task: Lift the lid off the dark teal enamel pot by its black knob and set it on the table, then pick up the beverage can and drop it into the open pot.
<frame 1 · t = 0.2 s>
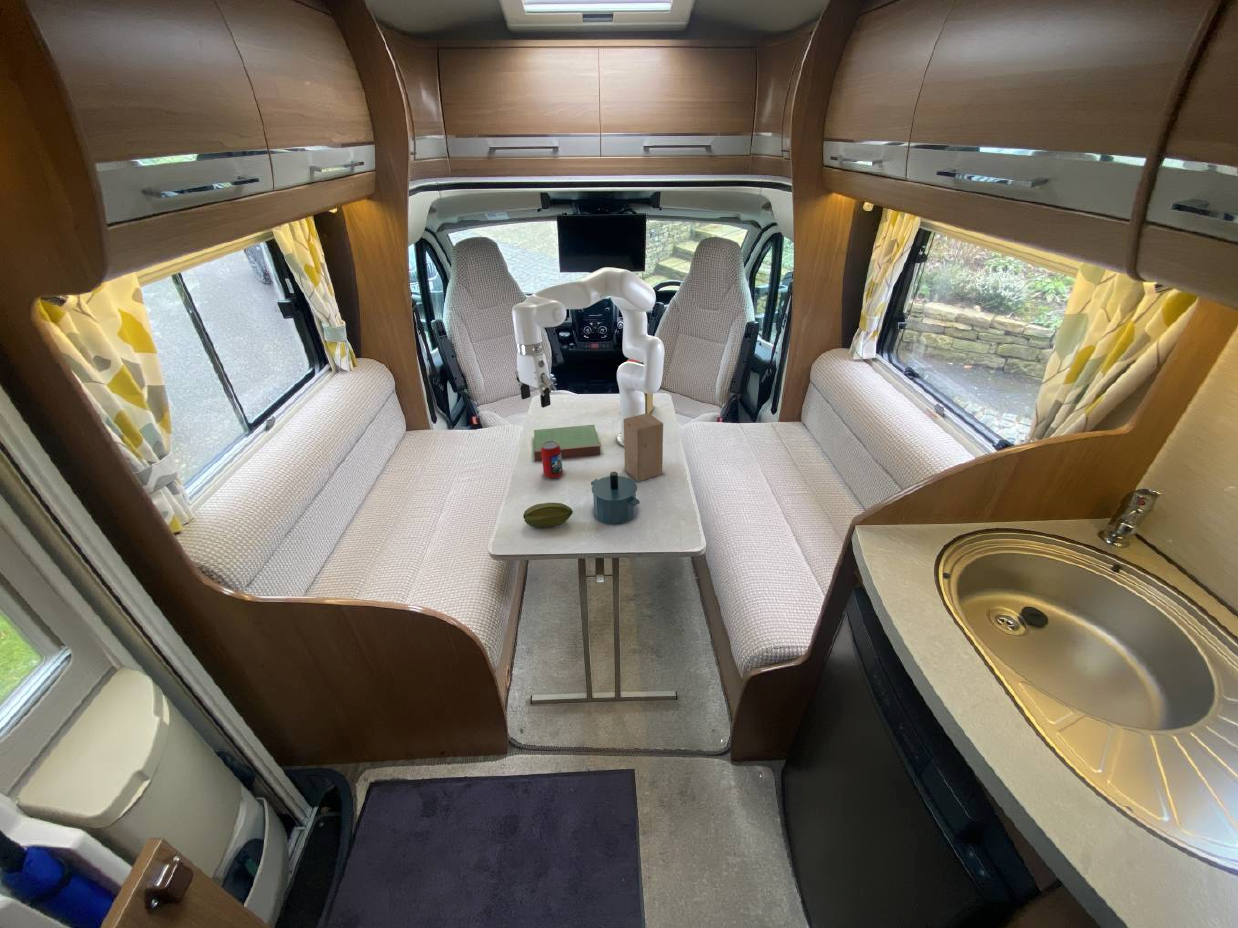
hand: (535, 402, 154), 31 cm above the table, tool pointing down, fingers open, 9 cm apart
wooden block: (643, 472, 176), on the table
pot: (615, 511, 156), on the table
pot lid: (614, 488, 151), point 8 cm above the table, touching pot
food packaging: (640, 412, 221), on the table
fruit: (548, 524, 151), on the table
book: (567, 446, 194), on the table
beverage can: (553, 474, 176), on the table
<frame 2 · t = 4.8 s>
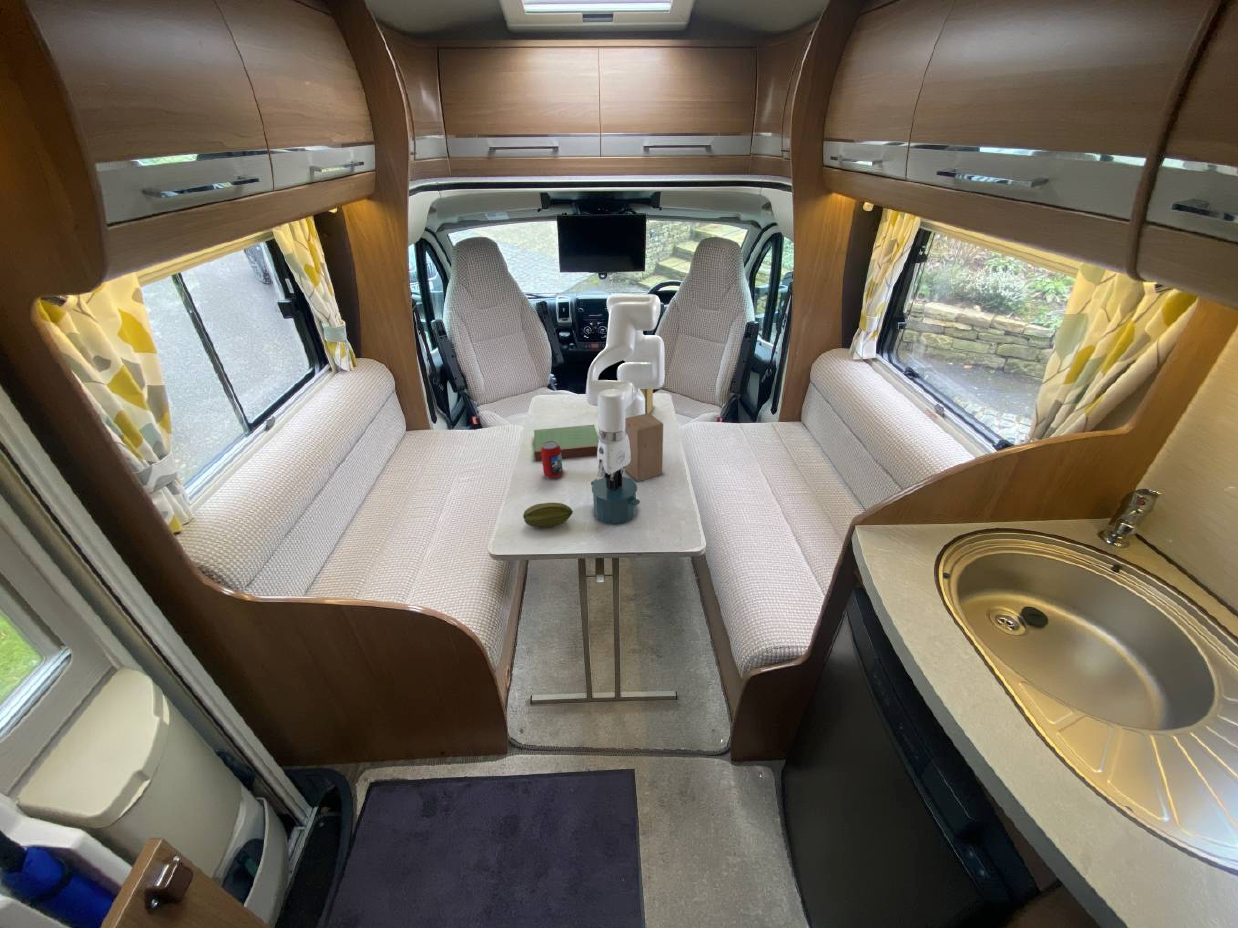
hand: (614, 486, 151), 9 cm above the table, tool pointing down, fingers closed on pot lid, 2 cm apart
pot lid: (614, 488, 151), point 9 cm above the table, touching gripper, pot
everything else where it was.
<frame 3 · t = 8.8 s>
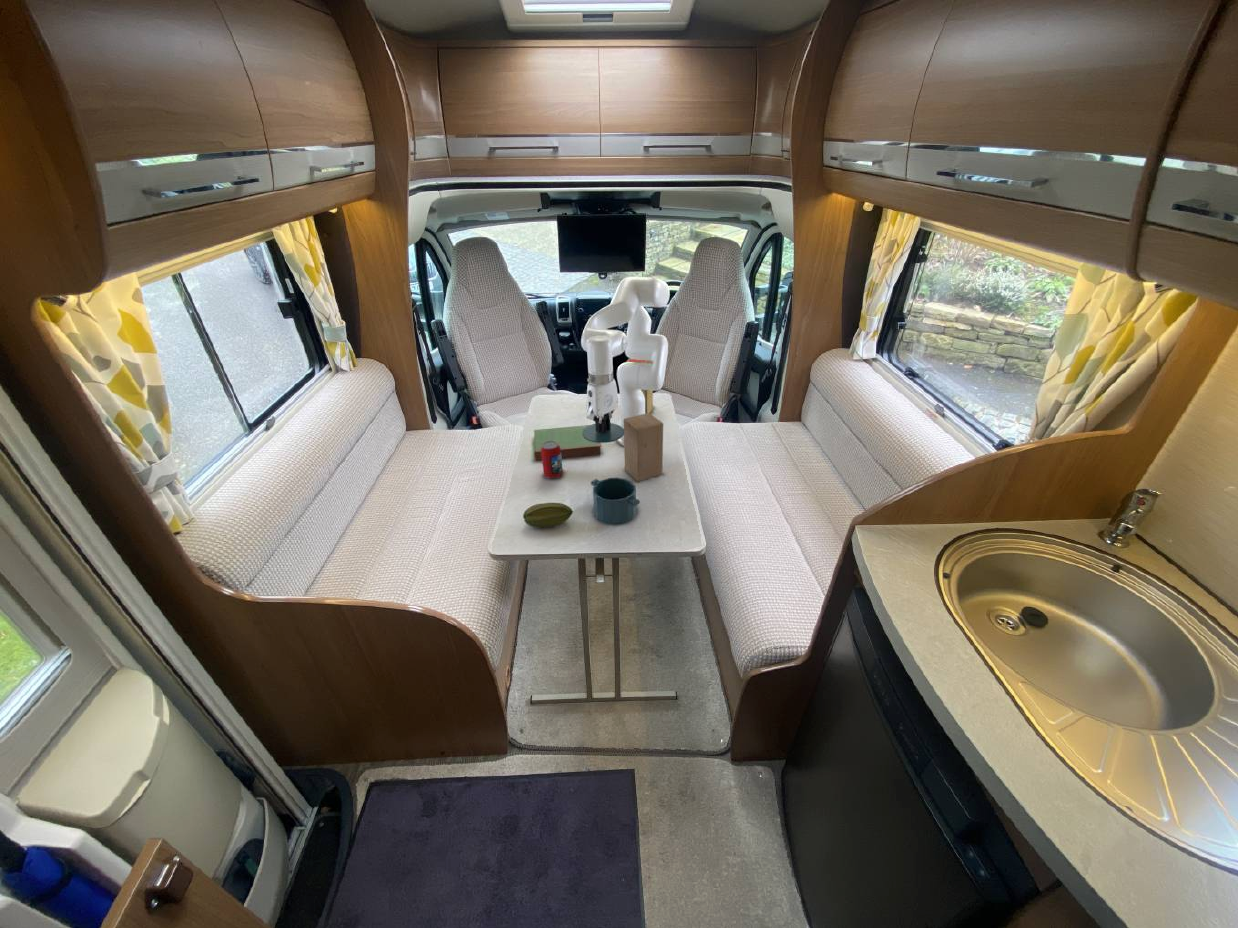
hand: (603, 430, 162), 19 cm above the table, tool pointing down, fingers closed on pot lid, 2 cm apart
pot lid: (603, 433, 162), point 19 cm above the table, touching gripper
everything else where it was.
when the fingers open (1 cm above the table, at t = 12.8 s): pot lid stays where it is, point 1 cm above the table.
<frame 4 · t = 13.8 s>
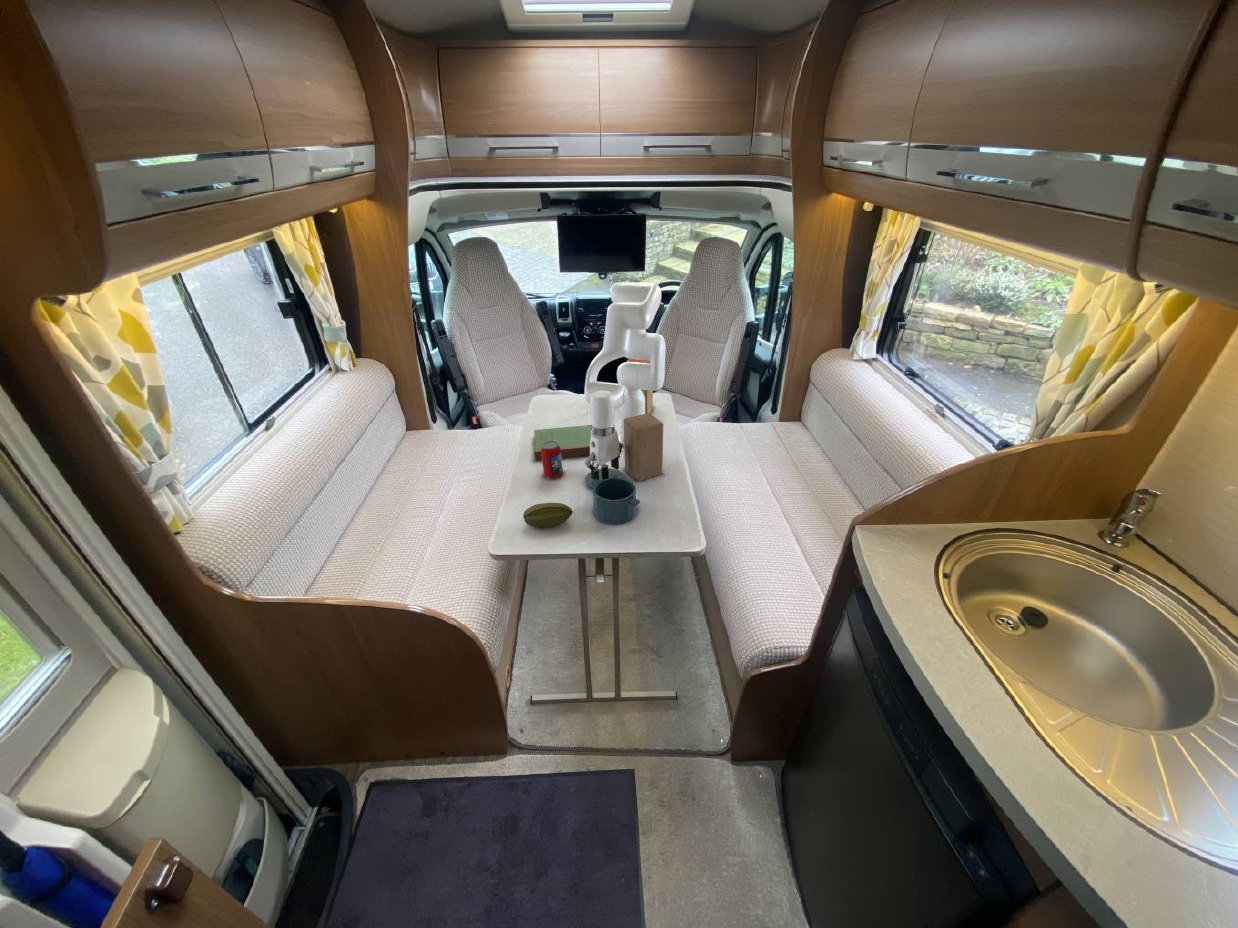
hand: (605, 473, 170), 3 cm above the table, tool pointing down, fingers open, 9 cm apart
pot lid: (605, 479, 171), point 1 cm above the table
everything else where it was.
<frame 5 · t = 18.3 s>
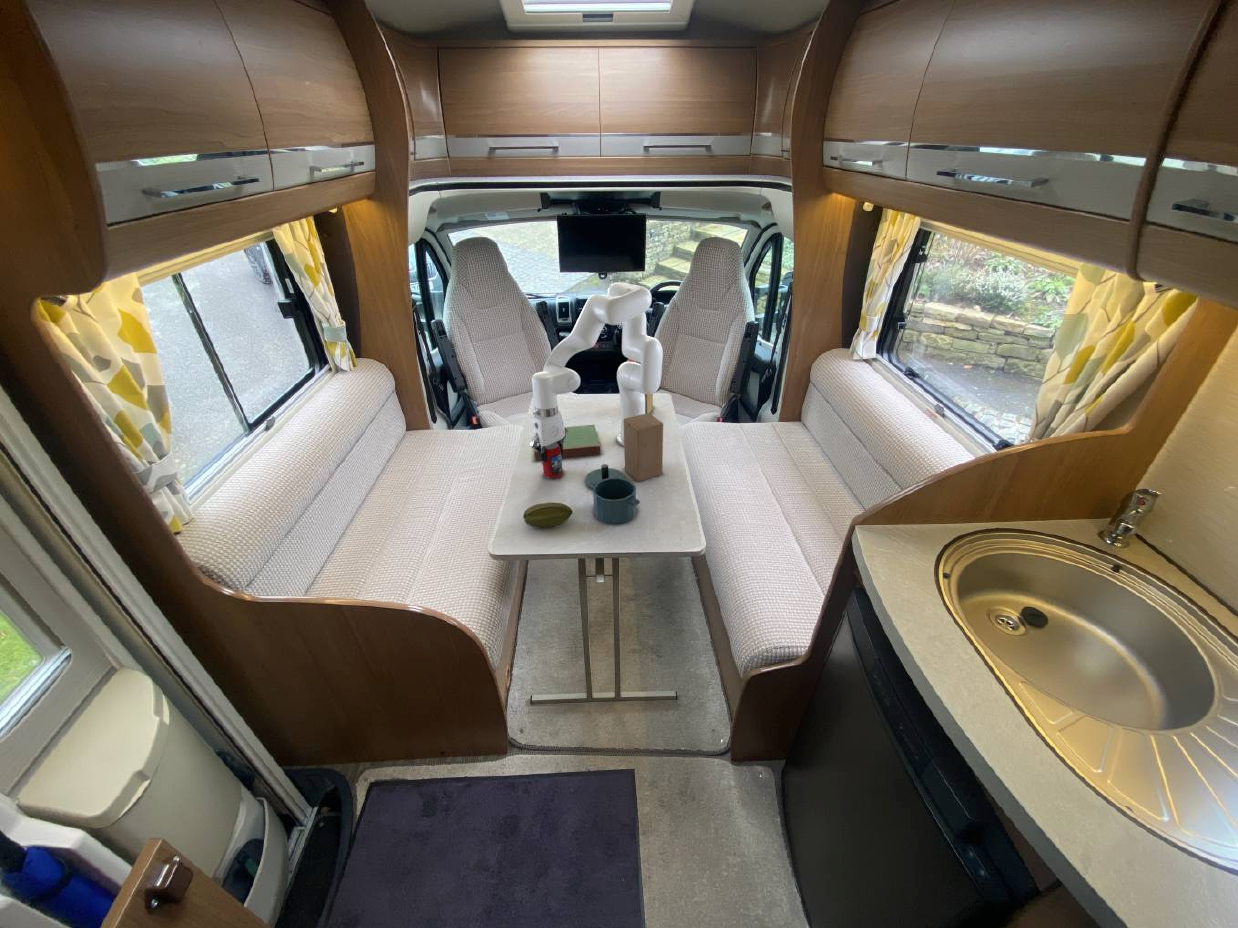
hand: (551, 456, 173), 7 cm above the table, tool pointing down, fingers closed on beverage can, 6 cm apart
beverage can: (553, 474, 176), on the table, touching gripper
everything else where it was.
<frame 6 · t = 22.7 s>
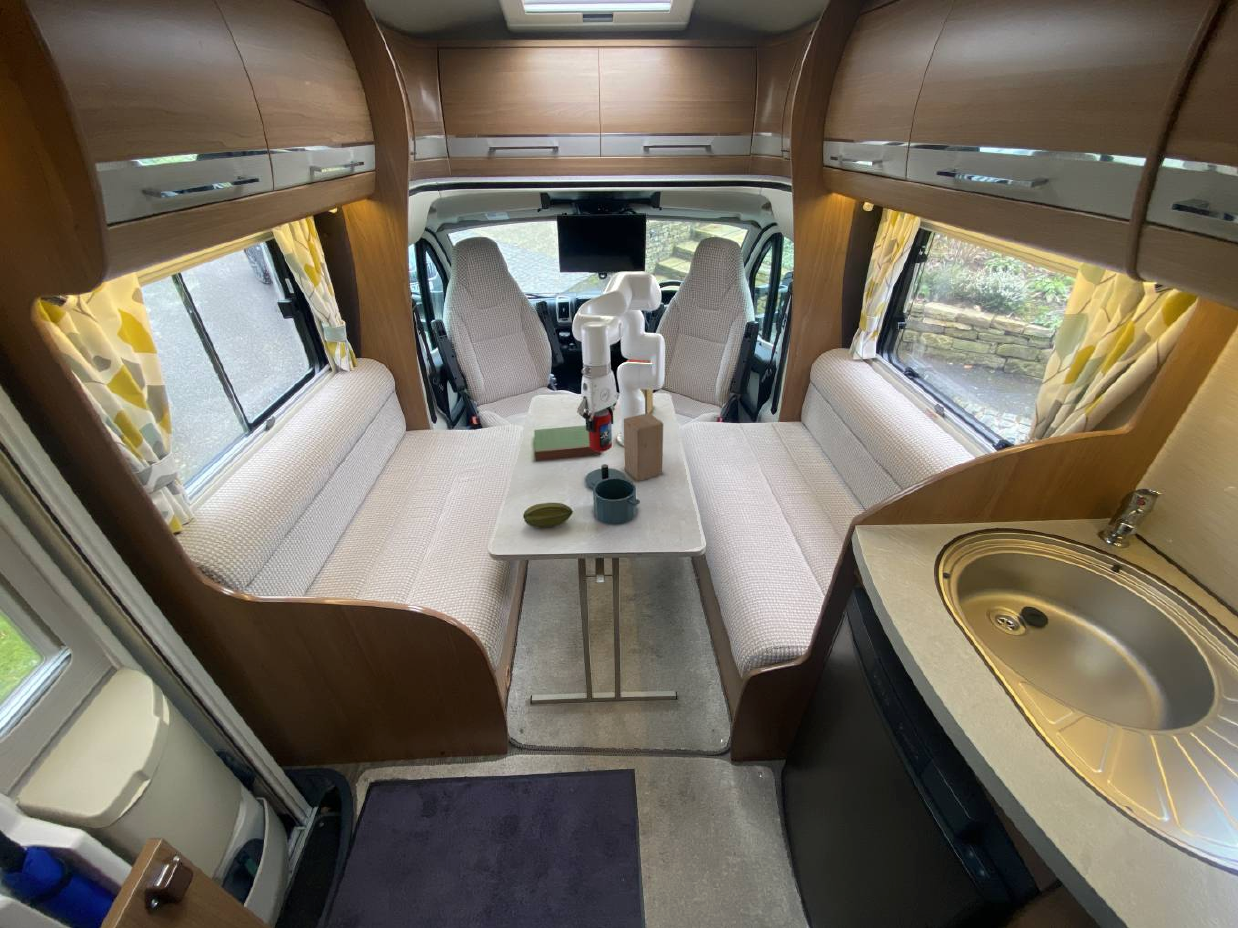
hand: (599, 426, 145), 28 cm above the table, tool pointing down, fingers closed on beverage can, 6 cm apart
beverage can: (600, 448, 149), point 20 cm above the table, touching gripper
everything else where it was.
when the fingers open (13 cm above the table, at t = 27.3 s): beverage can drops 5 cm, resting on pot.
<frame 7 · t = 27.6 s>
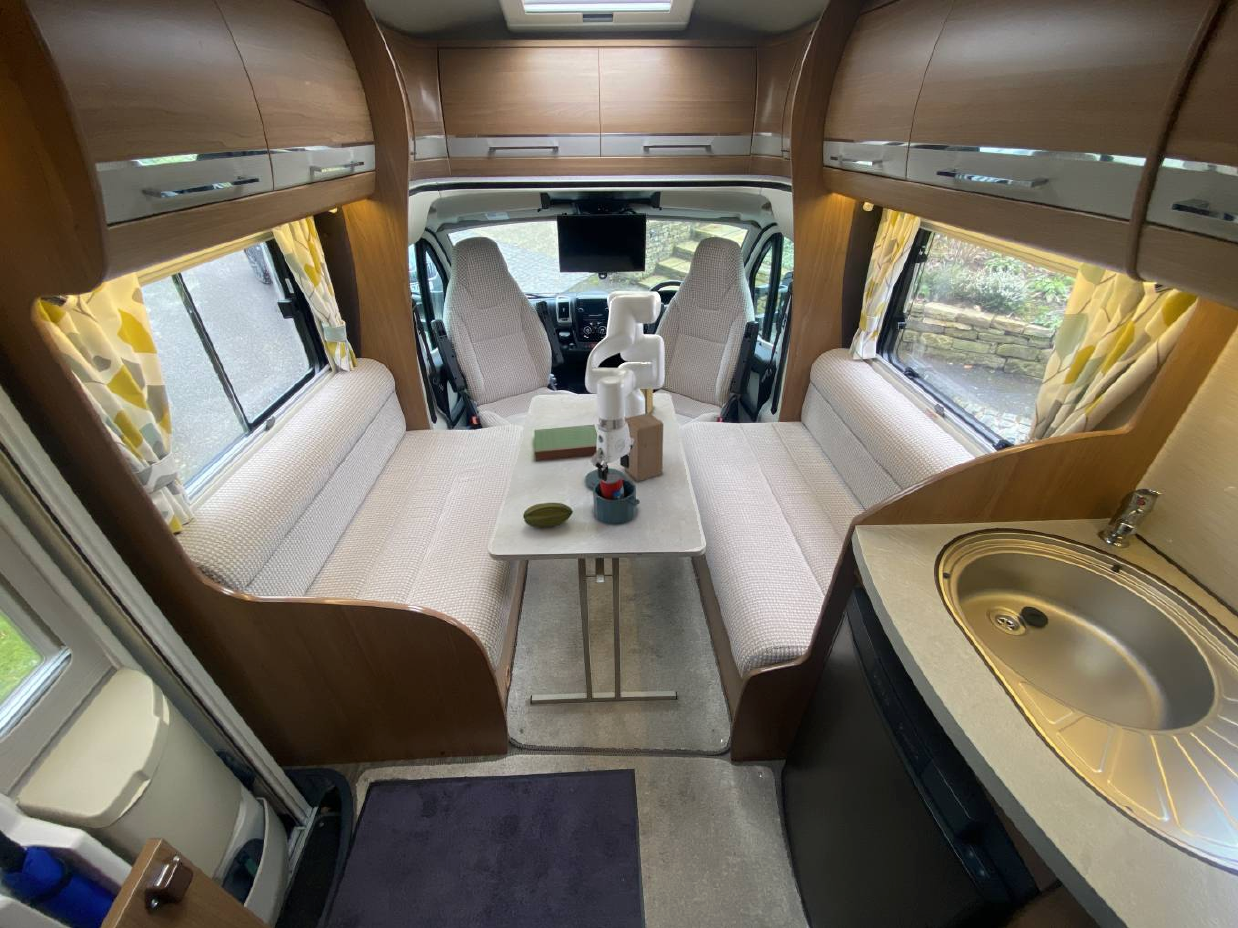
hand: (613, 472, 149), 14 cm above the table, tool pointing down, fingers open, 9 cm apart
beverage can: (615, 509, 156), point 1 cm above the table, touching pot
everything else where it was.
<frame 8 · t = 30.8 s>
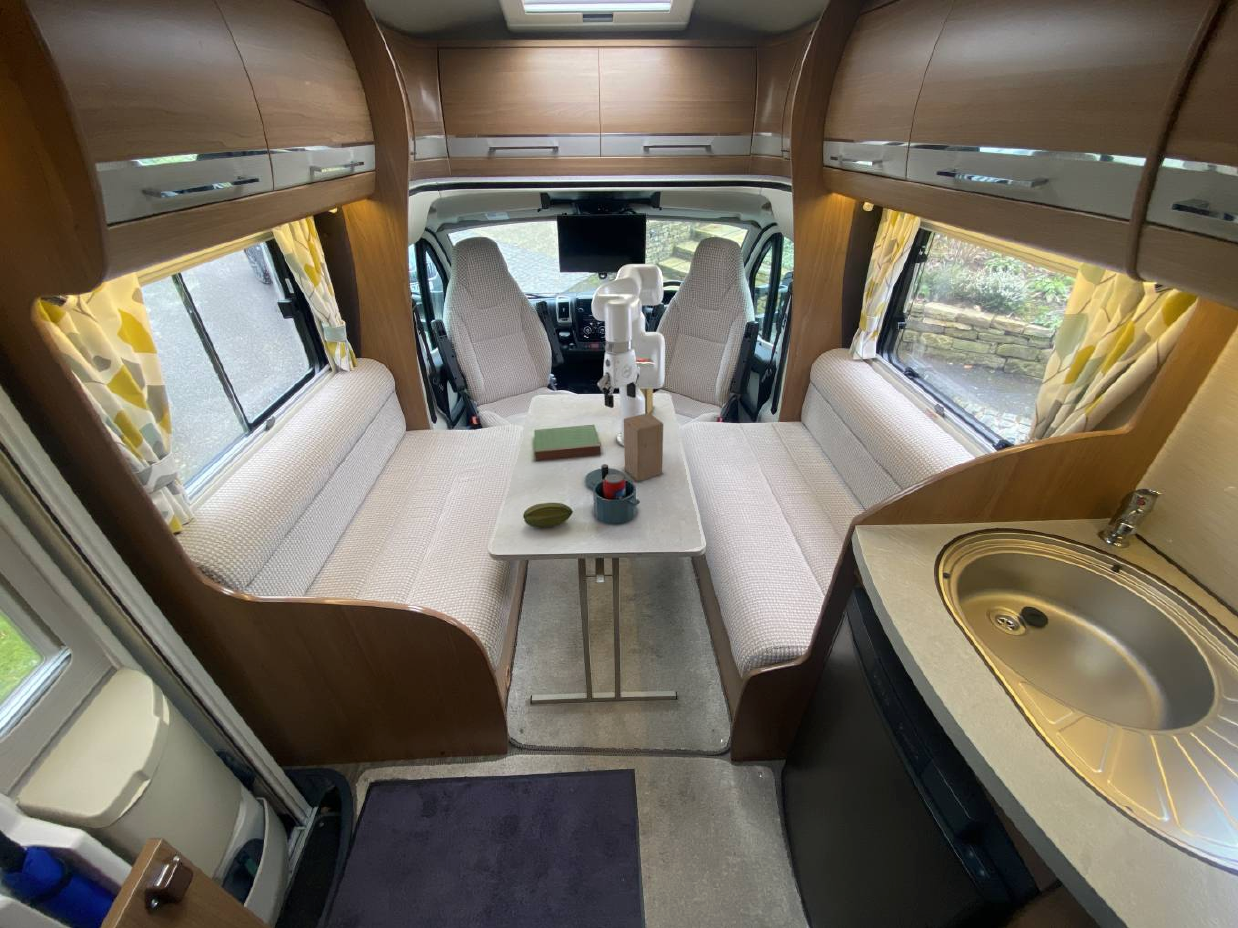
hand: (620, 401, 149), 32 cm above the table, tool pointing down, fingers open, 9 cm apart
at the end: pot lid inside the target area (0.1 cm from its centre), point 0.6 cm above the table; beverage can inside the target area in the pot (0.2 cm from its centre), point 0.3 cm above the pot's base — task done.
